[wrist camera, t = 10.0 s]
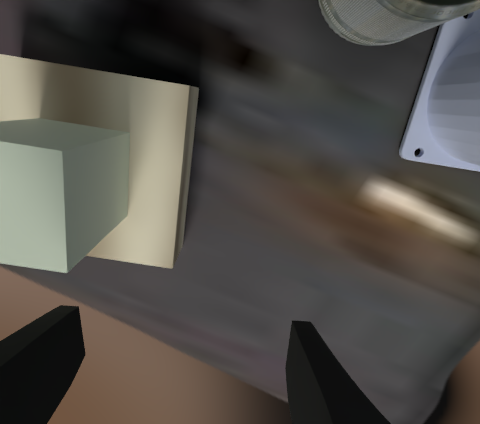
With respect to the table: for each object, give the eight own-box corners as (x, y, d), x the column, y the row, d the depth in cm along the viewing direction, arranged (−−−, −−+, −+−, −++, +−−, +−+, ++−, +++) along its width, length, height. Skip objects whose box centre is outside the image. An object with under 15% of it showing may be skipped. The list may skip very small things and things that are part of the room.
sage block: (130, 132, 16) (62, 150, 10) (127, 215, 17) (67, 272, 11) (39, 117, 15) (-82, 128, 10) (44, 203, 17) (-58, 254, 11)
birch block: (198, 87, 18) (189, 85, 15) (182, 245, 21) (172, 268, 18) (20, 58, 17) (-25, 50, 14) (33, 223, 21) (-1, 242, 18)
